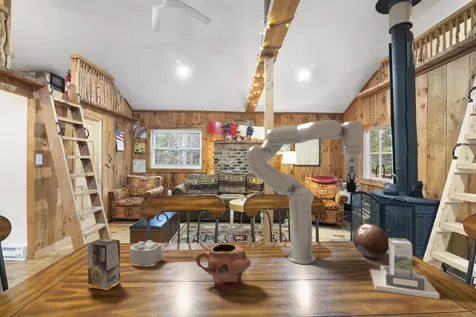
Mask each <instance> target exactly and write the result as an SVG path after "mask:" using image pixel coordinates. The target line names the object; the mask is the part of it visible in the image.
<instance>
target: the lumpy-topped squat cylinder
mask: <svg viewBox="0 0 476 317" xmlns="http://www.w3.org/2000/svg"><path fill="white" fill-rule="evenodd" d="M129 247H130V248H129V249H130V250H129V253H130V254H129V256H130V261H131V262H132V263H134V264H139V265H151V264H155V263H156V262H157V261H158V260H160V259H161V260H162V244H161V243H158V242H156V241H153V240H150V239H149V240H147V241H138V242H137V243H134V244H132V245H131V246H129Z"/></svg>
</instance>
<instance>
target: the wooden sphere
mask: <svg viewBox="0 0 476 317" xmlns="http://www.w3.org/2000/svg"><path fill="white" fill-rule="evenodd" d="M389 238H390V237H389V235H388V233H387V231H385V229H384V228H382V227H381V226H380V225H378V224H376V223H370V222H369V223H363V224H360V225H359V226H357V228H355V230H354V231H353V235H352V243H353V245H354V247H355V248H356V250H357V251H358V252H359V253H360V254H361V255H363V256H365V257H367V258H373V259H375V258H380V257H382V256H384V255H385V254H387V252H389Z"/></svg>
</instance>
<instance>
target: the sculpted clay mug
mask: <svg viewBox="0 0 476 317" xmlns="http://www.w3.org/2000/svg"><path fill="white" fill-rule="evenodd" d="M202 258H206V260H207V267H205V266H203V264H201V262H200V261H201V259H202ZM195 261H196V262H195V263H196V264H197V266H198V267H199V268H201V269H202V270H203V271H204V272H206V273H208V275H210V276H212V279H213V283H214V288H215V287H216V288H215V289H217V290H220V291H224V290H225V292H226V291H236V290H238V289H239V288H241V286H242V281H243V280H242V275H243V273H244V272H245V271H246V270H247V269H248V268H249V267H250V266H251V262H252V261H251V259H250V258H248V257H247V254H246V251H245V249H244V248H243V247H240V246H239V245H237V244H230V243H228V244H227V243H220V244H216V245H214V246H212V247H211V248H210V250H209V251H201V252H199V253H197V254H196V256H195Z"/></svg>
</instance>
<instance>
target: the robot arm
mask: <svg viewBox="0 0 476 317" xmlns="http://www.w3.org/2000/svg"><path fill="white" fill-rule="evenodd" d="M362 132H363V124H362V122H361V121H357V120H349V121H345V122H343V123H341V122H339V121H338V120H335V119H327V120H318V121H311V122H306V123H300V124H292V125H284V126H283V125H282V126H274V127H270V128H269V129H268V130H267V131H266V134H265V141H264V142H263V144H256V145H252V146H251V147H250V148H249V149H248V150H247V154H246V164H247V166H248V169H249V170H250V171H251V173H253V174H254V175H255V177H257V179H260V181H261V182H263V183H264V184H265V185H266V186H268V187H269V188H270V189H272V191H274V192H275V193H276V194H277V195H282V196H283V195H285V196H287V197H288V198H289V199H288V208H289V220H290V221H289V224H290V230H289V231H290V232H289V233H290V246H289V247H283V246H282V247H281V249H280V250H281V251H280V252H282V253H283V254H287V259H288V261H290V262H292V263H295V264H300V265H308V264H309V265H310V264H314V263H315V262H316V261H317V256H316V255H315V254H313V224H312V223H313V220H312V219H313V218H312V203H313V201H314V199H315V196H314V194H313V191H312V190H311V189H310V188H308V186H306V185H305V184H303V183H302V182H301V181H300V180H298V179H297V178H296V177H294V176H292V175H291V174H288V173H282V172H280V171H279V170H278V169H277V168H275V167H274V166H273V165H271V164H269V163H268V162H269V161H271V159H272V158H273V157H274V156H275V155H276V154H277V153H278V152H279V151H280V150H281V149H282V147H283V146H284V145H291V144H302V143H306V142H309V141H313V140H314V141H315V140H323V139H329V140H339V139H341V140H342V141H341V154H342V155H344V170H345V172H344V173H345V177H346V187H345V188H346V192H347V193H350V194H355V193H357V183H356V179H359V178H360V156H359V155H362V147H363V146H362V144H363V142H362V141H363V140H362V138H363V136H362V134H363V133H362Z"/></svg>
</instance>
